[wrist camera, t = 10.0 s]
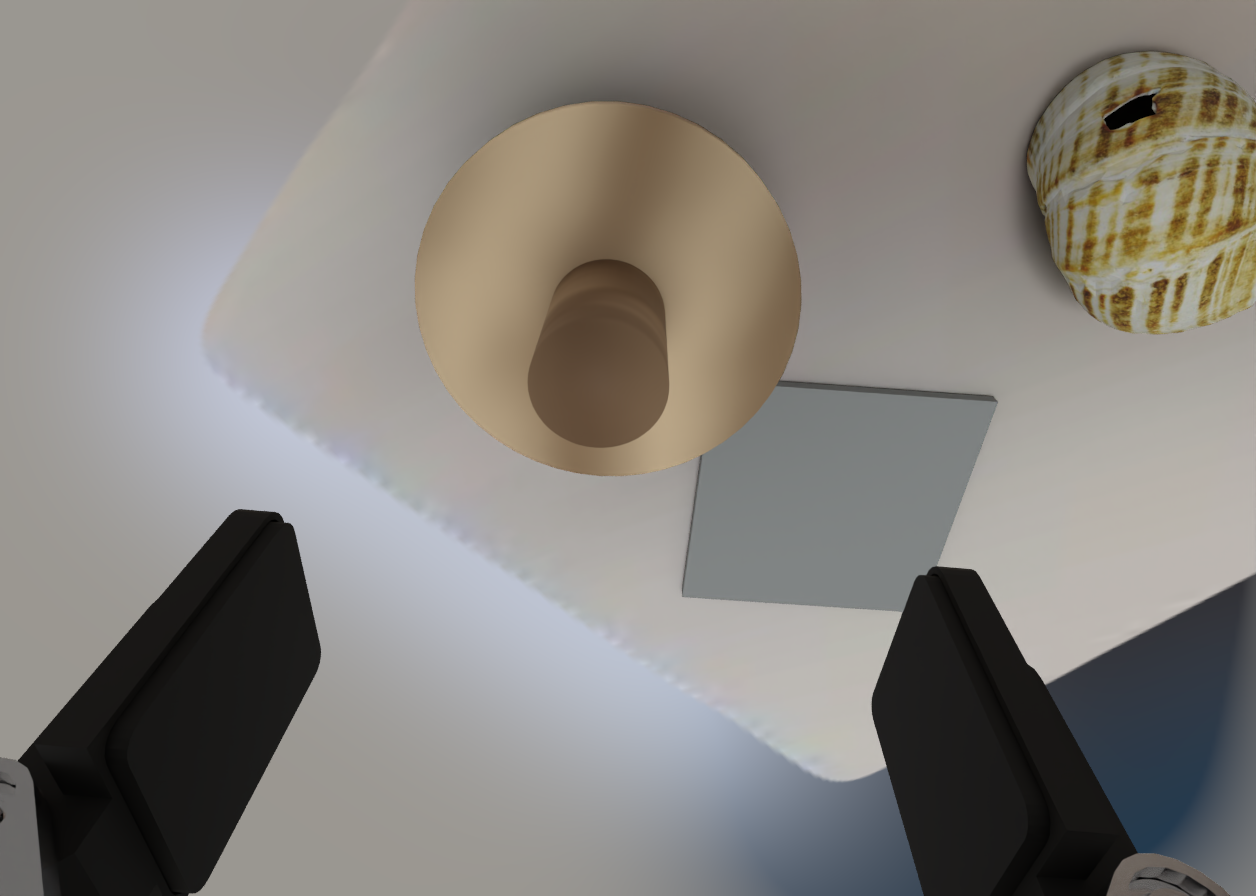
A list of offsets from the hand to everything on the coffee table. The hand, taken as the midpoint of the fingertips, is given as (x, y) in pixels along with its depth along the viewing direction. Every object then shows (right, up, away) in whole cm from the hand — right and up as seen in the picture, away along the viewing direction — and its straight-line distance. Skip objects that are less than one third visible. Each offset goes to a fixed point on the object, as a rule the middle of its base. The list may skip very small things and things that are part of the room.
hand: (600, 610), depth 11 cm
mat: (+11, 0, +28) cm, 30 cm away
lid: (0, +7, +12) cm, 14 cm away
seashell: (+22, +14, +20) cm, 33 cm away
